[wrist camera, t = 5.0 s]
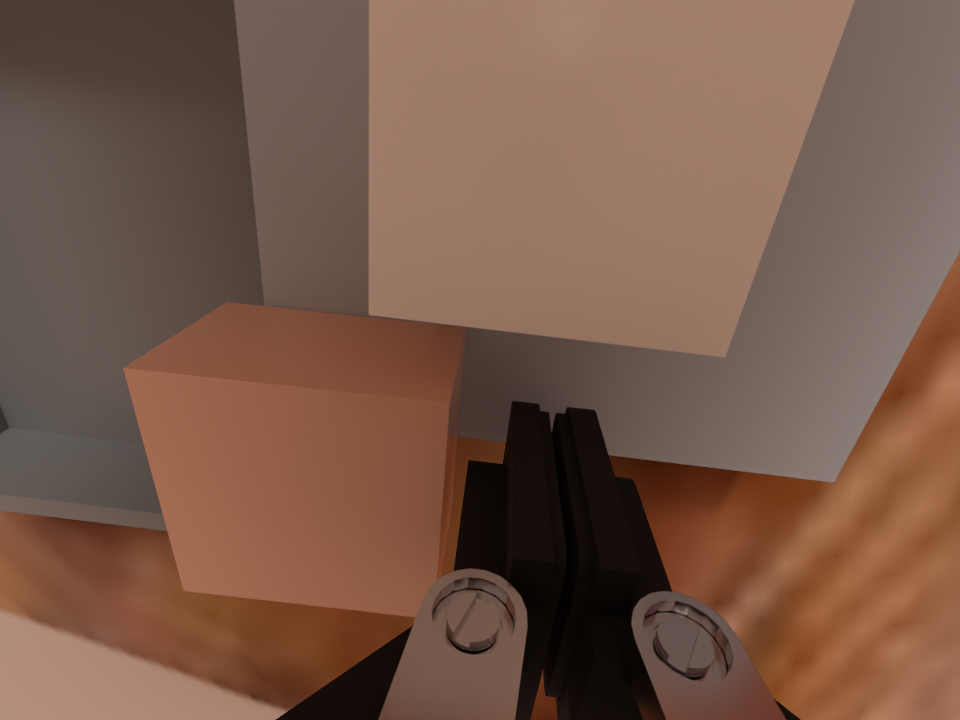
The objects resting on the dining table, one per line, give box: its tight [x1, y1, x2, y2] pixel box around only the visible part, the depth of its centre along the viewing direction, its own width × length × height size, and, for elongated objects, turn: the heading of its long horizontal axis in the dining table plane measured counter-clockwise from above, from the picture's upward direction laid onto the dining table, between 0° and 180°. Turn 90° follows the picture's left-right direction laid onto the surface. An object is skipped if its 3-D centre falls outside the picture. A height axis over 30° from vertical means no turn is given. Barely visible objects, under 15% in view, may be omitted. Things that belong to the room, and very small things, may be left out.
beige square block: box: [369, 0, 855, 357], centre depth 7 cm, size 5×5×3 cm
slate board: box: [234, 0, 960, 482], centre depth 10 cm, size 12×13×3 cm
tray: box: [0, 0, 264, 531], centre depth 11 cm, size 14×10×3 cm
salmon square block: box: [123, 302, 466, 617], centre depth 10 cm, size 5×5×3 cm
